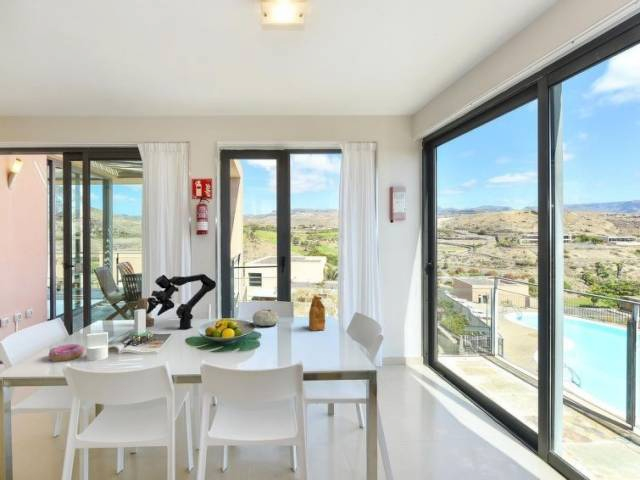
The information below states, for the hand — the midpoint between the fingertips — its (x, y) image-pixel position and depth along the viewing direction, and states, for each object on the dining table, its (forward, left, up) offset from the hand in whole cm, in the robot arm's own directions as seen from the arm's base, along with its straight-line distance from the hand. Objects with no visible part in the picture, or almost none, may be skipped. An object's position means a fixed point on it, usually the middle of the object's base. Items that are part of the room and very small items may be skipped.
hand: (152, 314), depth 213 cm
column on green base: (+9, +2, -9) cm, 13 cm away
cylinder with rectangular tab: (+36, +7, -14) cm, 40 cm away
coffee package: (-64, +78, -14) cm, 101 cm away
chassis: (+9, +2, -13) cm, 17 cm away
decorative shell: (-56, +43, -14) cm, 71 cm away
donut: (+43, -7, -14) cm, 46 cm away
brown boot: (-16, -26, -14) cm, 33 cm away
